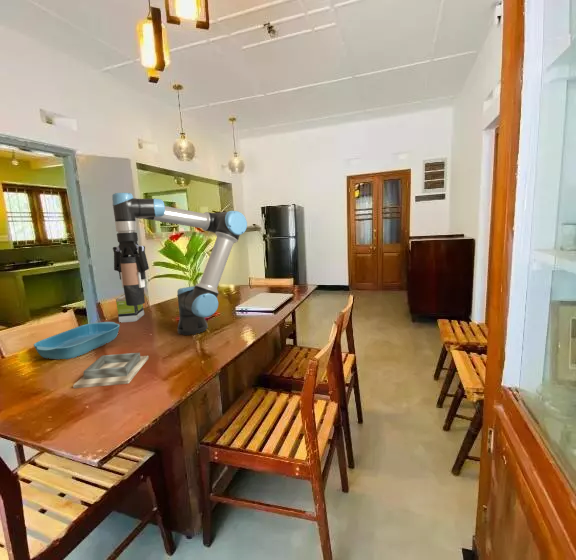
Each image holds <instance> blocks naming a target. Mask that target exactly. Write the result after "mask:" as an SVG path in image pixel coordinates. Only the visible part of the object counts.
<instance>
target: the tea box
mask: <svg viewBox="0 0 576 560" xmlns="http://www.w3.org/2000/svg"><path fill="white" fill-rule="evenodd" d="M115 304H116V310H117V316H118V322H119V323H120V322H121V323H132V322H133V323H134V322H137V321H138V320H140V319H141V318H142V317H143V316H145V311H144V304H141V305H135V306H127V305H126V299H125V293H124V294H122V295H120V296H118V297H116V298H115Z"/></svg>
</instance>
